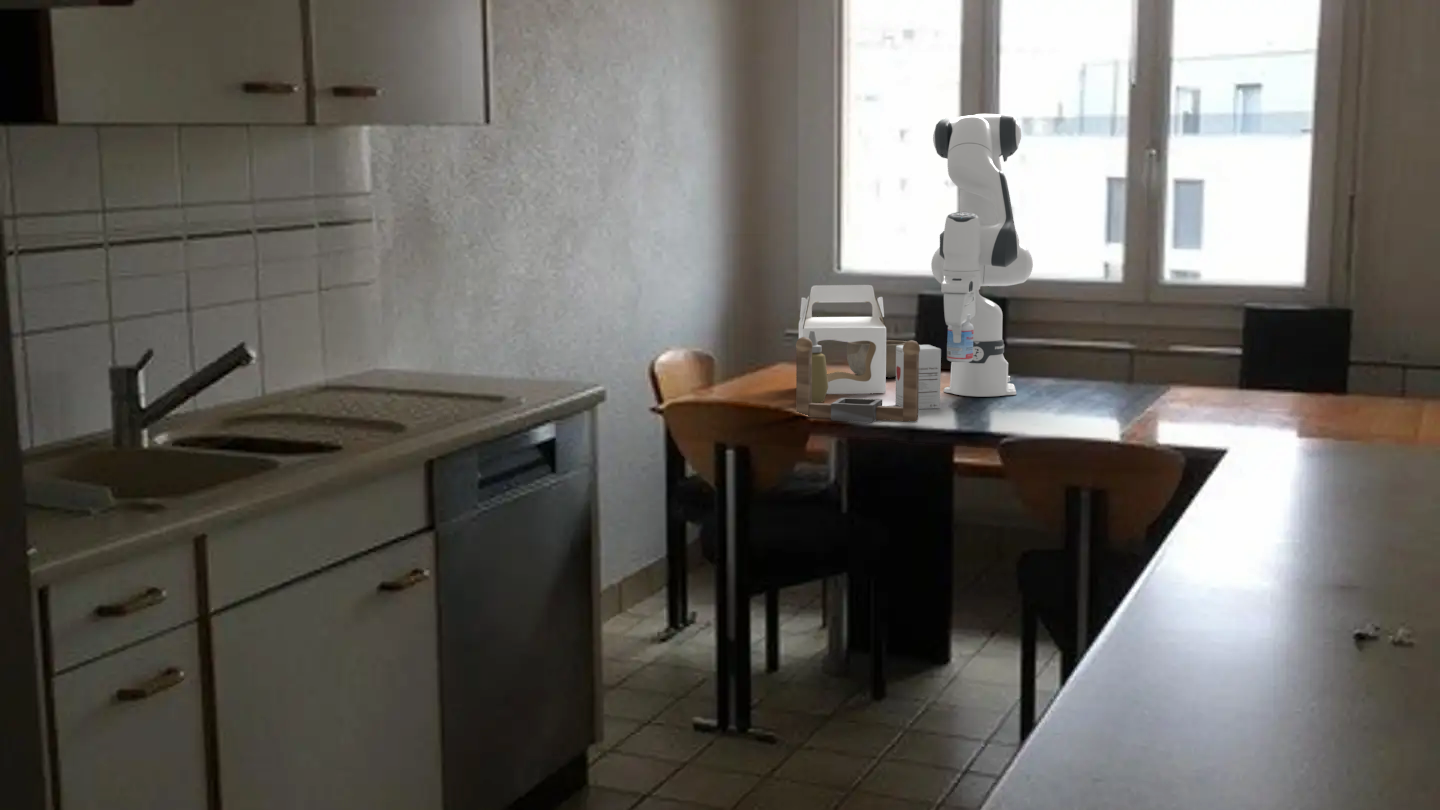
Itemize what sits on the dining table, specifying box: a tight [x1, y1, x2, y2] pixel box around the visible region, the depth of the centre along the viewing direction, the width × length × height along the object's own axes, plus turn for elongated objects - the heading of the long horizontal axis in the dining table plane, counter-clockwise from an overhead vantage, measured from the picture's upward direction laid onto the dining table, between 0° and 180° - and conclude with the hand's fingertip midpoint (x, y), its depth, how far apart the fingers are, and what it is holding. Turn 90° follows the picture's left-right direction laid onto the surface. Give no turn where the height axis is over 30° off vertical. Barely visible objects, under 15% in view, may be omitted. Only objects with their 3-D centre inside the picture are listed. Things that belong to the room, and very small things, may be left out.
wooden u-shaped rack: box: [795, 337, 920, 423], centre depth 403 cm, size 10×30×19 cm, turn 72°
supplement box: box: [895, 344, 942, 410], centre depth 420 cm, size 9×9×15 cm
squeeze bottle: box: [809, 331, 828, 403], centre depth 429 cm, size 8×8×18 cm
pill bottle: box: [946, 314, 974, 362], centre depth 402 cm, size 6×6×11 cm
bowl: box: [846, 339, 907, 378], centre depth 476 cm, size 17×18×10 cm
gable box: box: [798, 284, 887, 395], centre depth 448 cm, size 22×13×28 cm, turn 92°
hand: (960, 340), depth 402 cm, fingers closed on pill bottle, 6 cm apart
